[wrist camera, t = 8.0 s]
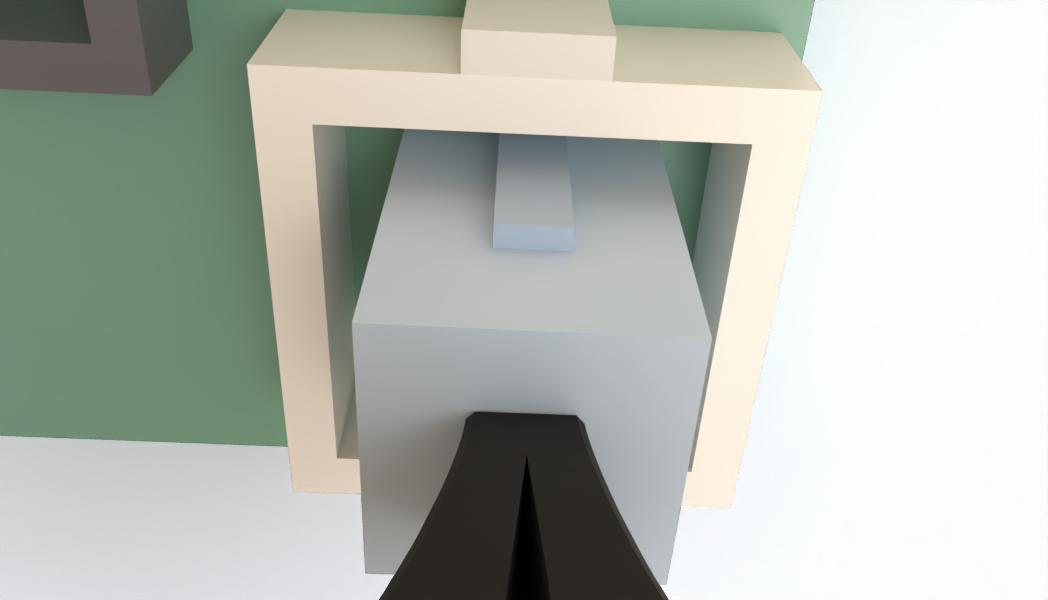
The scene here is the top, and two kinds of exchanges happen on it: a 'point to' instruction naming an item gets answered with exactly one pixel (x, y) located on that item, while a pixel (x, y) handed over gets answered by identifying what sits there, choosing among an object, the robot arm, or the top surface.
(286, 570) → the top surface
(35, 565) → the top surface
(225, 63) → the board
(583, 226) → the plug
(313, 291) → the frame
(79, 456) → the top surface
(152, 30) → the block
